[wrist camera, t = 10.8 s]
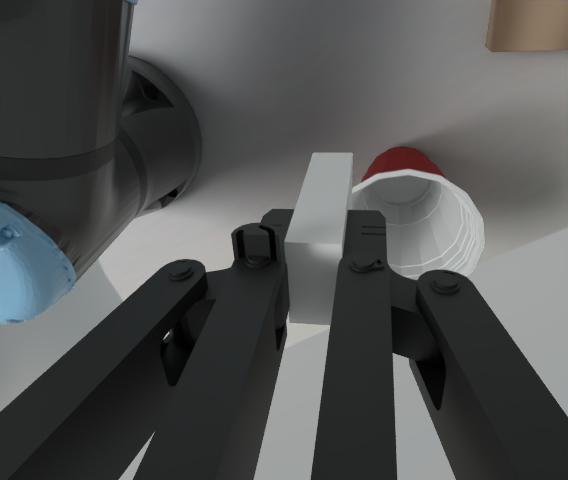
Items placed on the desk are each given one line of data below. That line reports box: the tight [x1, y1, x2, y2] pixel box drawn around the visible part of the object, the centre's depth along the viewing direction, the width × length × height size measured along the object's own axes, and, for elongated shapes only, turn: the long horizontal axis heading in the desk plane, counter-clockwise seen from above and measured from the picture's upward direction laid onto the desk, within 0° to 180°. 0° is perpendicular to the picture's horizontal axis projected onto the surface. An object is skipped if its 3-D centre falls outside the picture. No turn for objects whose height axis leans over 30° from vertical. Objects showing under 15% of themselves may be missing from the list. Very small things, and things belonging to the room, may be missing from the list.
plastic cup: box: [352, 147, 485, 280], centre depth 38 cm, size 11×11×12 cm
